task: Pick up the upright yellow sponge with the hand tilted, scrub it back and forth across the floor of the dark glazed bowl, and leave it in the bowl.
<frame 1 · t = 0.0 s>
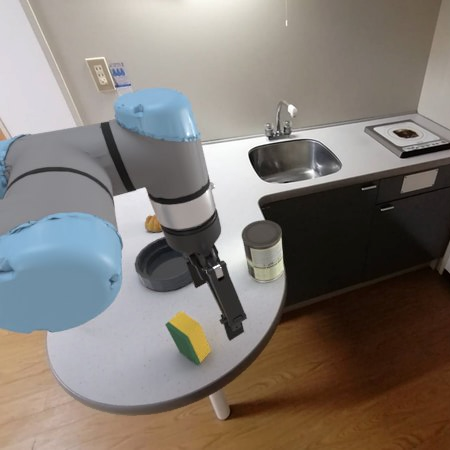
hand: (217, 307, 55), 20 cm above the worktop, tool pointing down, fingers open, 13 cm apart
coffee can: (266, 269, 88), on the worktop
bowl: (173, 267, 88), on the worktop
sponge: (195, 351, 69), on the worktop
pastry: (160, 226, 103), on the worktop
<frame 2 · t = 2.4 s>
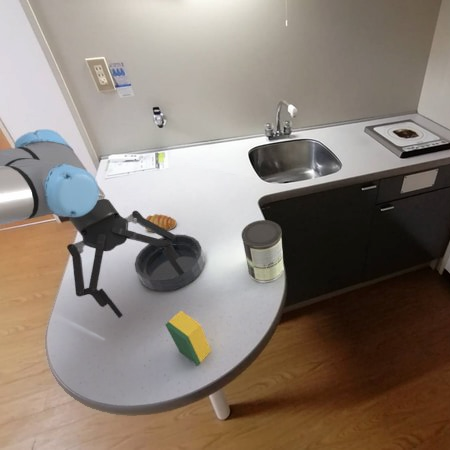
hand: (153, 294, 63), 15 cm above the worktop, tool tilted 40°, fingers open, 13 cm apart
nothing on the worktop moved.
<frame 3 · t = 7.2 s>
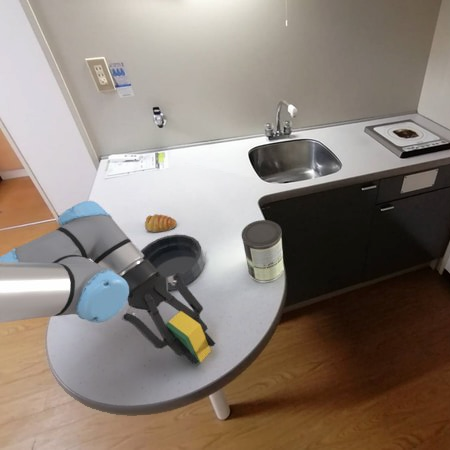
hand: (203, 353, 65), 3 cm above the worktop, tool tilted 45°, fingers closed on sponge, 4 cm apart
sponge: (195, 351, 69), on the worktop, touching gripper
everything else where it was.
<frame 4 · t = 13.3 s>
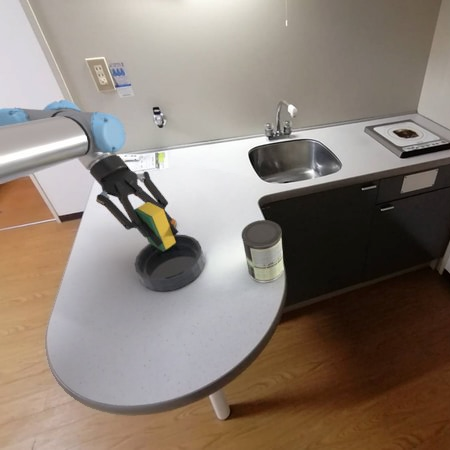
hand: (168, 239, 77), 14 cm above the worktop, tool tilted 45°, fingers closed on sponge, 4 cm apart
sponge: (162, 242, 80), point 11 cm above the worktop, touching gripper
everything else where it was.
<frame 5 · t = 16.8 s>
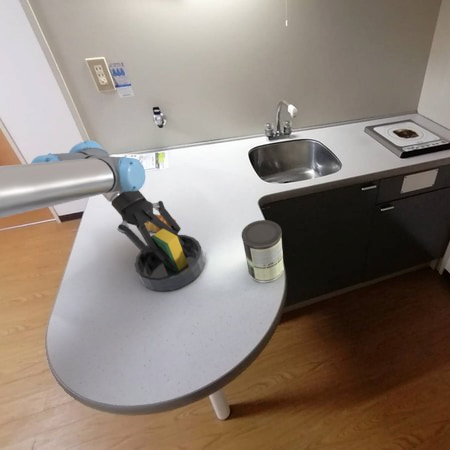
hand: (181, 261, 85), 4 cm above the worktop, tool tilted 45°, fingers closed on sponge, 4 cm apart
sponge: (175, 263, 89), point 1 cm above the worktop, touching bowl, gripper
everything else where it was.
when the fingers open (4 cm above the worktop, at t = 19.5 s): sponge stays where it is, resting on bowl.
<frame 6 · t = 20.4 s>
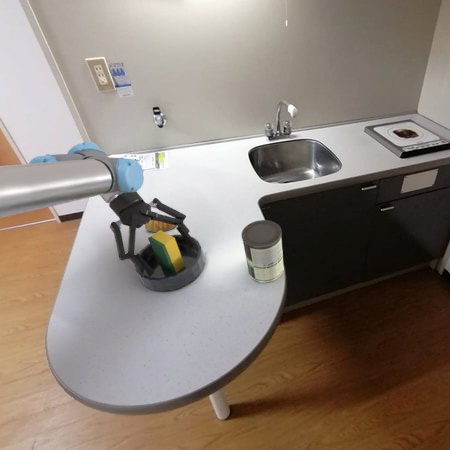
hand: (173, 258, 84), 5 cm above the worktop, tool tilted 45°, fingers open, 13 cm apart
sponge: (172, 265, 88), point 1 cm above the worktop, touching bowl
everything else where it was.
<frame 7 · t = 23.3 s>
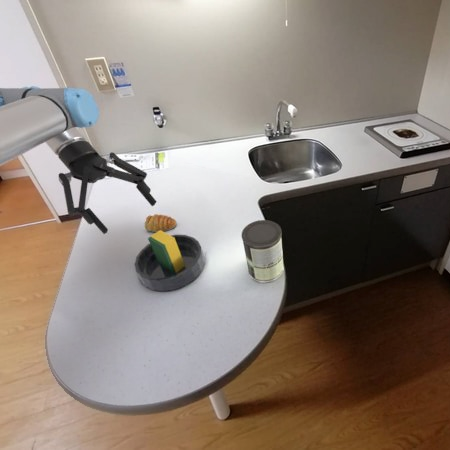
hand: (131, 217, 78), 18 cm above the worktop, tool tilted 45°, fingers open, 13 cm apart
nothing on the worktop moved.
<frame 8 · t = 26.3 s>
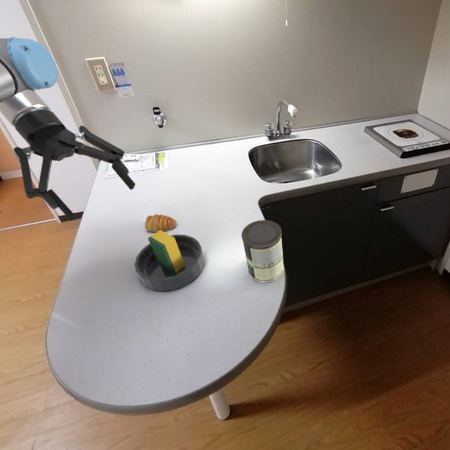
hand: (105, 201, 66), 28 cm above the worktop, tool tilted 45°, fingers open, 13 cm apart
nothing on the worktop moved.
at the end: sponge inside the target area in the bowl (0.2 cm from its centre), point 0.6 cm above the bowl's base; sponge touching bowl; sponge moved 28.6 cm from its start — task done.
